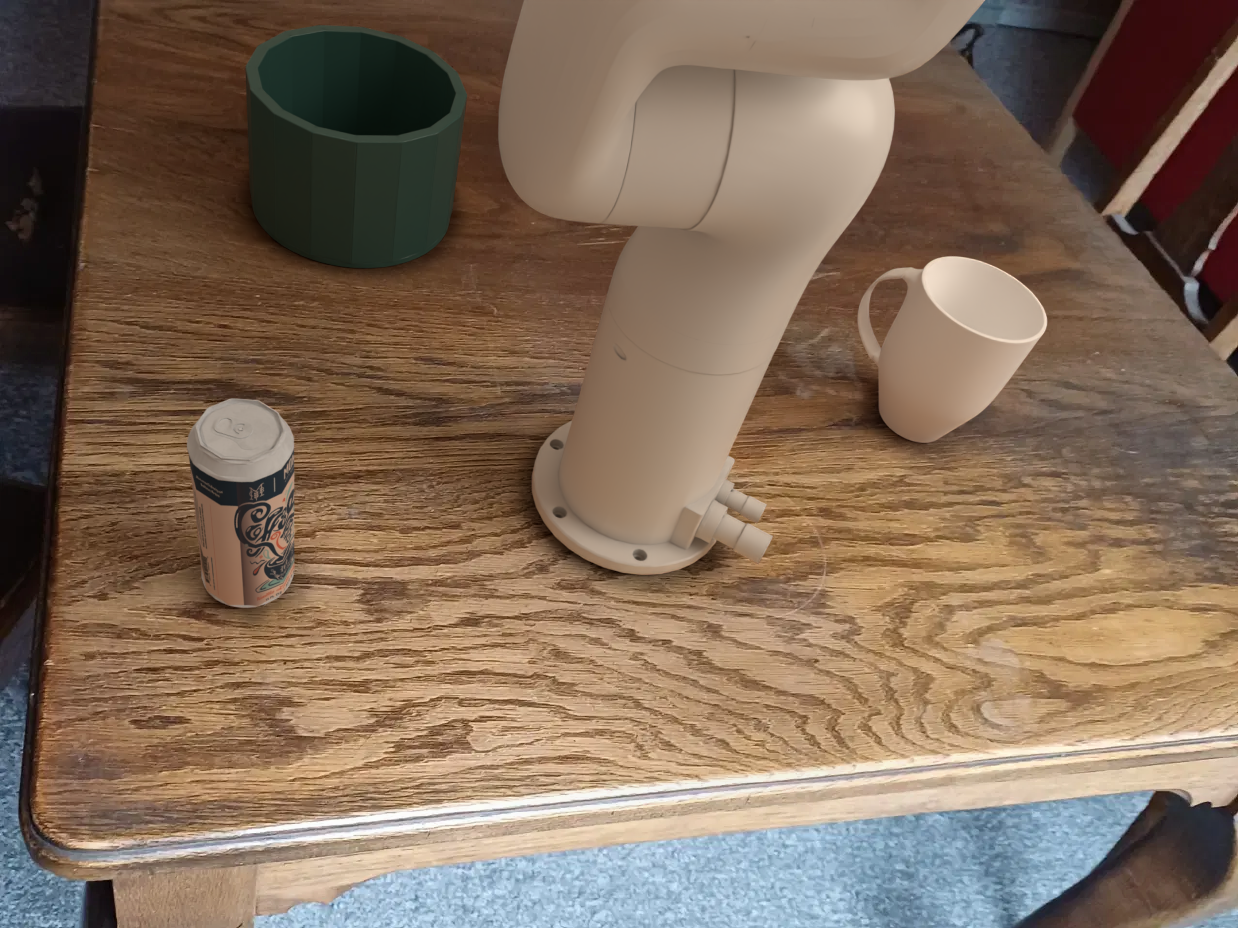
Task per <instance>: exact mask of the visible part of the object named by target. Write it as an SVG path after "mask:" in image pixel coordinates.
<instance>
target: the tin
mask: <svg viewBox="0 0 1238 928" xmlns="http://www.w3.org/2000/svg"><path fill="white" fill-rule="evenodd" d="M244 68H245V71H244V72H245V73H244V74H245V94H246V95H245V96H246V97H245V99H246V100H245V101H246V122H247V123H246V124H247V126H246V127H247V150H248V151H247V152H248V153H247V154H248V177H249V182H248V183H249V193H250V197H251V207H252V211H253V214H254V216H255V219H256V220H257V222H258V224H259V225H260V226H261V228H262V229H263V230H264V232H266V234H268V235H269V236H270V237H271V239H273V240H274V241H276V242H277V243H278V244H279V245H281V246H282V247H284V248H286V249H288V250H289V251H291V252H293V253H295V254H297V255H299V256H302V257H304V258H307V259H309V260H311V261H315V262H318V263H323V264H327V265H331V266H335V267H336V266H337V267H343V268H351V269H379V268H386V267H387V268H388V267H392V266H393V267H394V266H397V265H402V264H405V263H409V262H411V261H413V260H416V259H418V258H420V257H422V256H424V255H426V254H428V253H429V252H430V251H432V250H433V249H434V248H436V247H437V245H439V244H440V242H441V241H443V238H444V237H445V236H446V234H447V232H448V229H449V226H450V222H451V221H450V220H451V217H452V213H453V210H454V209H453V208H454V200H455V193H456V185H457V179H458V172H459V171H458V170H459V162H460V154H461V147H462V139H463V131H464V123H465V117H466V109H467V101H468V94H467V91H466V89H465V86H464V83H463V81H462V79H461V77H460V75H459V72H458V71H457V70H456V69H454V67H452V66H451V65H450V64H448V63H447V62H446V60H444V59H443V58H442V57H440V56H439V55H438V54H437V53H436V52H435V51H433V50H432V49H430V48H428V47H425V46H423V45H420V44H418V43H416V42H415V41H412V40H410V39H408V38H406V37H404V36H401V35H397V34H393V33H389V32H387V31H386V32H385V31H381V30H377V29H373V28H368V27H366V26H352V25H330V24H328V25H325V24H318V25H311V26H306V27H299V28H294V29H289V30H284V31H282V32H280V33H278V34H277V35H275V36H273V37H271V38H269V39H267V40H265V41H264V42H262V43H260V44H259V45H257V46H256V48H255V49H254V51H253V53H252V54H251V56H250V58H249V59H248V61H247V63H246V64H245V67H244Z"/></svg>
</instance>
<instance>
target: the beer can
mask: <svg viewBox="0 0 1238 928" xmlns="http://www.w3.org/2000/svg"><path fill="white" fill-rule="evenodd" d="M186 450H187V453H188V460H189V468H190V476H191V477H190V478H191V485H192V487H191V488H192V495H193V505H194V515H195V523H196V531H197V532H196V533H197V540H198V541H197V542H198V549H199V559H200V569H201V570H200V572H201V573H200V574H201V575H200V576H201V577H200V578H201V580H202V584H203V586H204V588H205V590H206V592H207V593H208V594H209V595H210V596H211V597H213V599H214V600H216V601H218V602H220V603H221V604H225V605H227V606H228V607H229V606H230V607H235V608H241V609H249V608H256V607H261V606H265V605H267V604H270V603H271V602H273V601H275V600H277V599H279V598H280V597H281V596H282V595H283V594H284V593H285V592H286V591H287V590H288V588H289V587H290V585H291V583H292V582H293V578H294V575H295V436H294V435H293V431H292V429H291V427H290V425H289V424H288V423H287V422H286V420H285V419H284V418H283V417H282V416H281V415H280V412H279V411H277V410H275V409H274V408H272V407H270V406H269V405H267V404H265V403H264V402H262V401H260V400H258V399H246V398H229V399H225V400H224V401H221V402H218V403H216V404H213V405H210V406H208V407H206V409H205V411H204V412H203V414H201V416H200V417H199V418H198V420H197V421H196V422H195V423H194V424H193V426H192V427H191V429H190V431H189V433H188V435H187V440H186Z"/></svg>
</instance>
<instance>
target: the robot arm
mask: <svg viewBox="0 0 1238 928" xmlns="http://www.w3.org/2000/svg"><path fill="white" fill-rule="evenodd" d="M984 2H986V0H523V2H522V5H521V10H520V12H519V17H518V20H517V23H516V26H515V30H514V34H513V38H512V41H511V45H510V49H509V53H508V58H507V61H506V65H505V69H504V74H503V79H502V85H501V90H500V97H499V103H498V105H499V106H498V121H497V122H498V124H497V125H498V126H497V136H498V137H497V138H498V139H497V140H498V148H499V154H500V155H499V156H500V160H501V164H502V167H503V170H504V173H505V176H506V178H507V180H508V182H509V184H510V186H511V187H512V189H513V190H514V192H515V193H516V195H517V196H518V197H519V199H521V200H522V201H523V202H524V203H525V204H526V206H528V207H530V208H531V209H533V210H534V211H536V212H537V213H539V214H542V215H545V216H547V217H550V218H554V219H558V220H563V221H568V222H575V223H585V224H596V225H613V226H628V227H629V226H630V227H636V228H635V230H634V231H633V233H632V234H631V235H630V237H629V238H628V240H627V241H626V243H625V245H624V247H623V248H622V250H621V252H620V253H619V255H618V259H617V261H616V264H615V266H614V269H613V272H612V275H611V279H610V282H609V286H608V289H607V293H606V297H605V300H604V304H603V308H602V311H601V314H600V318H599V322H598V325H597V329H596V331H595V332H596V333H595V337H594V339H593V344H592V347H591V351H590V355H589V358H588V361H587V366H586V369H585V372H584V375H583V380H582V383H581V387H580V390H579V394H578V398H577V401H576V405H575V408H574V413H573V416H572V419H571V420H569V421H567V422H566V423H564V424H563V425H560V426H559V427H557V428H556V429H555V430H554V431H553V432H552V433H551V434H550V435H548V436H547V438H546V439H545V441H544V442H543V443H542V445H541V446H540V447H539V450H538V453H537V455H536V457H535V460H534V465H533V468H532V474H531V493H532V498H533V501H534V505H535V508H536V510H537V512H538V514H539V516H540V518H541V521H542V522H543V523H544V524H545V526H546V527H547V529H548V530H549V531H550V532H551V533H552V535H553V536H554V537H555V538H556V539H557V540H558V541H559V542H560V543H561V544H563V545H564V546H565V547H566V548H567V549H568V550H570V551H571V552H573V553H574V554H576V555H578V556H580V557H581V558H582V559H584V560H586V561H588V562H591V563H593V564H595V565H597V566H599V567H601V568H604V569H608V570H612V571H614V572H615V571H616V572H619V573H622V574H629V575H630V574H631V575H639V576H640V575H641V576H645V575H662V574H667V573H672V572H675V571H679V570H681V569H684V568H686V567H688V566H690V565H692V564H695V563H696V562H697V561H699V560H700V559H701V558H703V557H704V556H705V555H707V553H708V552H709V551H710V550H711V549H712V547H713V546H714V545H715V544H716V543H717V541H718V542H719V543H721V544H723V545H725V546H727V547H729V548H731V549H732V552H735V553H736V554H738V555H740V556H742V557H744V558H745V559H747V560H750V561H751V562H754V563H756V564H758V565H759V564H760V563H761V560H762V559H763V557H764V555H765V553H766V551H767V549H768V548H769V546H770V543H771V541H772V539H774V535H772V534H770V533H768V532H766V531H764V530H762V529H760V528H758V527H757V526H755V525H753V524H751V523H749V522H747V523H745V522H744V521H742V520H740V519H738V518H736V517H734V516H732V515H730V514H729V513H728V509H729V510H732V511H734V512H736V513H738V514H739V516H741V517H743V518H745V519H747V520H749V521H751V522H753V523H754V524H758V523H759V521H760V519H761V518H762V515H763V514H764V511H765V510H766V508H767V506H768V504H767V503H765V502H763V501H760V500H759V499H757V498H756V497H754V496H751V495H747V494H745V493H743V492H742V491H739V490H738V489H735V488H734V487H735V485H736V484H735V483H734V482H732V481H731V480H729V479H728V477H729V475H730V473H731V471H732V469H733V466H734V464H735V463H736V459H735V458H733V457H732V456H730V455H729V454H730V452H731V450H732V448H733V445H734V443H735V441H736V439H737V437H738V435H739V431H740V430H741V428H742V425H743V424H744V421H745V419H746V416H747V414H748V413H749V410H750V408H751V406H752V403H753V401H754V399H755V397H756V394H757V392H758V390H759V388H760V385H761V384H762V381H763V379H764V376H765V374H766V372H767V369H768V367H769V365H770V363H771V361H772V359H773V356H774V355H775V353H776V351H777V349H778V347H779V345H780V342H781V340H782V337H783V336H784V334H785V332H786V329H787V327H788V324H789V323H790V320H791V319H792V316H793V314H794V312H795V310H796V308H797V306H798V304H799V302H800V299H801V298H802V296H803V294H804V292H805V291H806V288H807V286H808V285H809V282H810V281H811V279H812V278H813V276H814V274H815V273H816V271H817V269H818V268H819V266H820V264H821V263H822V262H823V260H824V259H825V258H826V256H827V254H828V253H829V251H830V250H831V249H832V247H833V246H834V245H835V243H836V242H837V241H838V240H839V238H840V237H841V235H842V234H843V232H845V231H846V229H847V228H848V226H849V225H850V224H851V223H852V222H853V220H854V219H855V217H856V216H857V214H858V213H859V212H860V210H861V208H862V207H863V206H864V205H865V203H866V201H867V199H868V198H869V196H870V194H871V193H872V191H873V189H874V187H875V186H876V183H878V180H879V178H880V176H881V174H882V171H883V169H884V167H885V164H886V162H887V159H888V155H889V152H890V150H891V145H892V140H893V136H894V130H895V119H896V118H895V117H896V116H895V115H896V110H895V109H896V108H895V107H896V106H895V99H894V98H895V97H894V90H893V87H892V83H891V80H890V79H893V78H897V77H901V76H903V75H906V74H909V73H911V72H913V71H915V70H917V69H919V68H920V67H922V66H924V65H925V64H926V63H928V62H929V61H930V60H932V59H933V58H934V57H935V56H936V55H937V54H938V53H940V51H942V50H943V48H945V47H946V46H947V45H948V44H949V43H950V42H951V41H952V39H953V38H954V37H955V36H956V35H957V34H958V33H959V32H960V31H961V30H962V29H963V28H964V26H965V25H966V24H967V23H968V22H969V20H970V19H971V18H972V17H973V16H974V15H975V13H976V12H977V11H978V10H979V9H980V7H981V6H982V5H983V4H984Z"/></svg>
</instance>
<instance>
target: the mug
mask: <svg viewBox="0 0 1238 928" xmlns="http://www.w3.org/2000/svg"><path fill="white" fill-rule="evenodd" d="M899 279H902V280H903V281H904V282H905V284H906V286H907V287H906V288H907V291H906V294H905V297H904V300H903V302H902V304H901V306H900V308H899V310H898V311H897V313H896V314H897V315H896V316H895V318H894V320H893V322H892V323H891V326H890V327H889V329H888V332H887V334H886V335H885V338H884V340H883V343H882V345H880V343H879V341H878V340H877V337H876V335H875V333H874V330H873V327H872V323H871V320H870V302H871V296H872V293H873V292H874V289H875V288H876V286H877V285H878V284H879V283H880V282H882V281H886V280H899ZM858 306H859V307H858V309H857V330H858V335H859V338H860V341H861V343H862V346H863V348H864V350H865V353H866V354H867V357H868V358H869V359H870V360H872V361H873V362H874V364H875V365H876V366H877V368H878V369H877V370H878V371H877V374H878V412H879V415H880V417H881V419H882V421H883V422H884V423H885V425H886V426H887V427H888V428H889V429H890V430H891V431H893V432H894V433H895V434H896V435H899V437H902V438H904V439H906V440H909V441H911V442H915V443H923V444H928V443H929V444H930V443H933V442H935V441H938V440H939V439H941V438H942V437H944V436H945V435H947V434H949V433H950V432H952V431H953V430H955V429H957V428H959V427H960V426H962V425H964V424H966V423H967V422H968V421H970V420H972V419H973V418H975V417H977V416H978V415H979V414H981V413H982V412H983V411H984V410H985V409H987V408H988V406H989V405H990V404H991V403H992V402H993V401H994V400H995V399H996V397H998V395H999V394H1000V392H1001V391H1002V390H1003V389H1004V388H1005V386H1006V385H1007V384H1008V382H1009V381H1010V380H1011V378H1013V375H1014V374H1015V373H1016V372H1017V370H1018V369H1019V368H1020V366H1021V365H1022V363H1024V360H1025V359H1026V358H1027V357H1028V355H1029V353H1030V352H1032V350H1033V348H1034V347H1035V346H1036V344H1037V343H1038V341H1039V340H1040V339H1041V338H1042V336H1043V335H1044V333H1045V332H1046V330H1047V326H1048V317H1047V314H1046V310H1045V308H1044V306H1043V304H1042V303H1041V301H1040V300H1039V298H1038V297H1037V296H1036V295H1035V294H1034V293H1033V291H1032V290H1031V289H1030V288H1028V287H1027V286H1026V285H1025V284H1024V283H1022V282H1021V281H1020V280H1018V279H1017V278H1016V277H1014V276H1013V275H1011V274H1010V273H1008V272H1006V271H1004V270H1002V269H1000V268H998V267H997V266H994V265H992V264H990V263H987V262H985V261H982V260H978V259H974V258H971V257H965V256H956V255H955V256H954V255H953V256H952V255H949V256H942V257H941V256H940V257H938V258H934V259H933V260H931V261H929V262H928V263H927V264H926V265H925V266H924V267H923V268H914V267H912V266H910V267H897V268H893V269H889V270H888V271H885V272H884V273H883V274H881V275H880V276H879V277H878V278H876V279H875V280H874V281H873V282H872V283H871V284H870V285H869V287H868V288H867V289H866V291H865V292H864V294H863V295H862V296H861V299H860V302H859V305H858Z"/></svg>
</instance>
